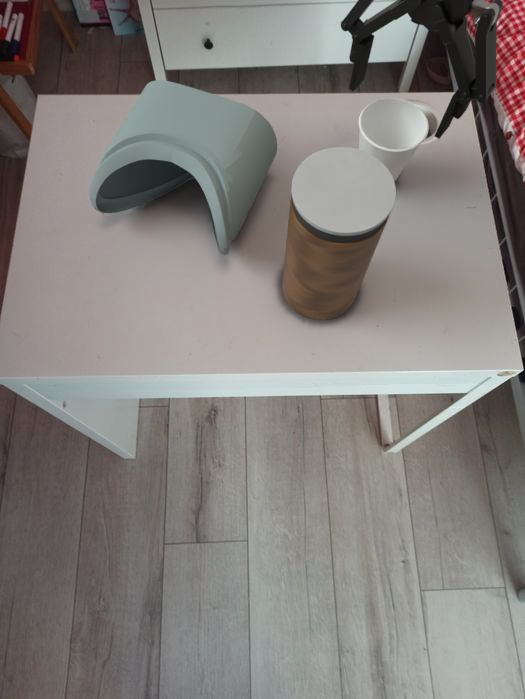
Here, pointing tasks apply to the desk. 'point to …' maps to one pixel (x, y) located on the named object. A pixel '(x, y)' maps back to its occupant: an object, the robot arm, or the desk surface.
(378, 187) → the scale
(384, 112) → the cup
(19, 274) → the desk surface
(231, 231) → the sage-green arched shell
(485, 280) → the desk surface
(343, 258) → the plinth
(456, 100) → the robot arm
